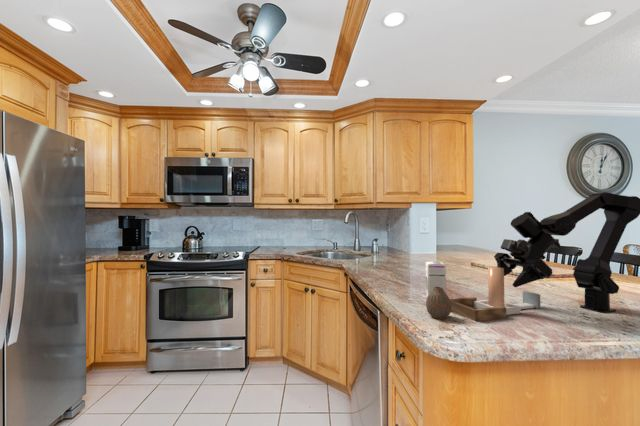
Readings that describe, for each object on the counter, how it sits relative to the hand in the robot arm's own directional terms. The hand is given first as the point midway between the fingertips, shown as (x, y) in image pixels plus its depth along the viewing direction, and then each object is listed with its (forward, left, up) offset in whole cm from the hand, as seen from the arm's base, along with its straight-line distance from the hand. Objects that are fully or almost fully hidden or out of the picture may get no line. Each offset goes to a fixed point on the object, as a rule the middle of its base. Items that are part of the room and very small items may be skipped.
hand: (503, 283), depth 91 cm
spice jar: (+2, -1, -8) cm, 8 cm away
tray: (-3, -1, -9) cm, 9 cm away
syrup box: (+17, -11, -9) cm, 22 cm away
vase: (+24, -1, -9) cm, 26 cm away
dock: (+10, -1, -9) cm, 14 cm away
